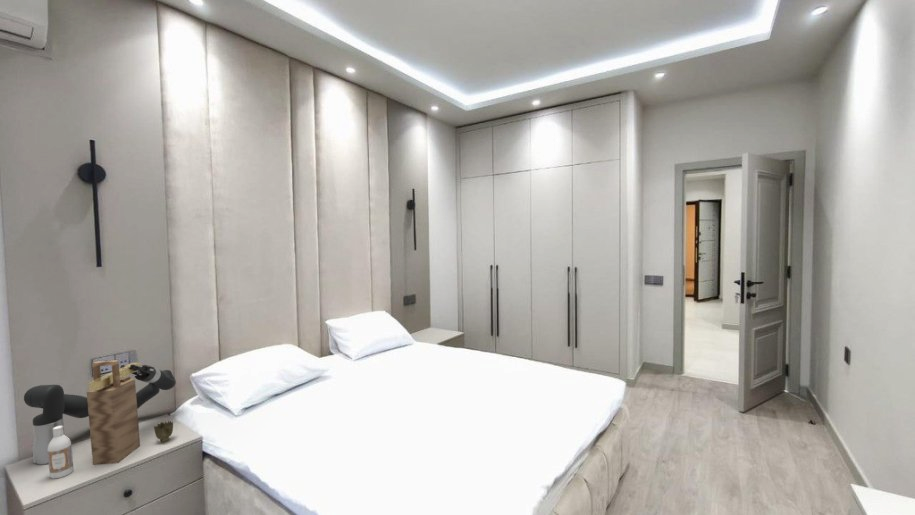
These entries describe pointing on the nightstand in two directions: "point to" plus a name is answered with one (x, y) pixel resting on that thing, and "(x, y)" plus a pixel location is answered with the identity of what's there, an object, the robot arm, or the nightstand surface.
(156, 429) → the cup
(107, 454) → the walnut stand
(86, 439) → the nightstand surface
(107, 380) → the gold square bar
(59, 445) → the bath foam
